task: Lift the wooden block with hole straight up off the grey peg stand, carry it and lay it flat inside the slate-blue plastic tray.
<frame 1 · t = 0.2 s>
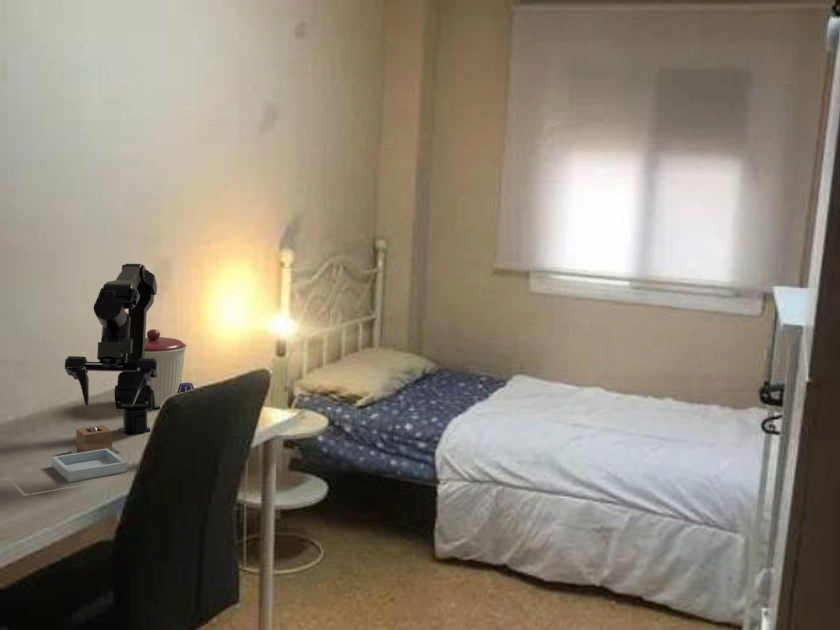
hand: (109, 405, 189), 14 cm above the table, tool tilted 30°, fingers open, 9 cm apart
toy lamp: (186, 455, 204), on the table
wooden block with hole: (94, 451, 203), resting on grey peg stand
grey peg stand: (94, 452, 203), on the table
tray: (89, 470, 190), on the table
canister: (154, 404, 249), on the table
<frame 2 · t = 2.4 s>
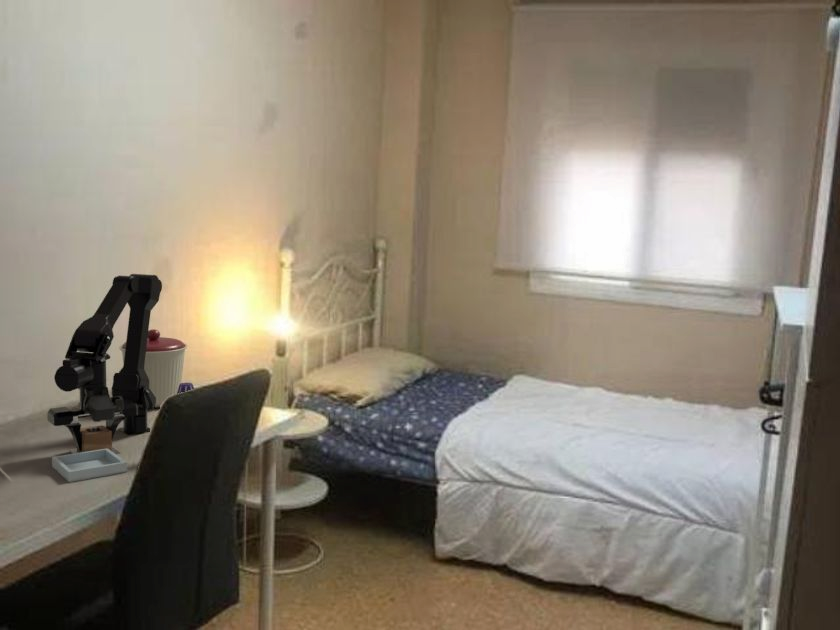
hand: (94, 448, 203), 1 cm above the table, tool pointing down, fingers closed on wooden block with hole, 6 cm apart
wooden block with hole: (94, 451, 203), resting on grey peg stand, touching gripper
everything else where it was.
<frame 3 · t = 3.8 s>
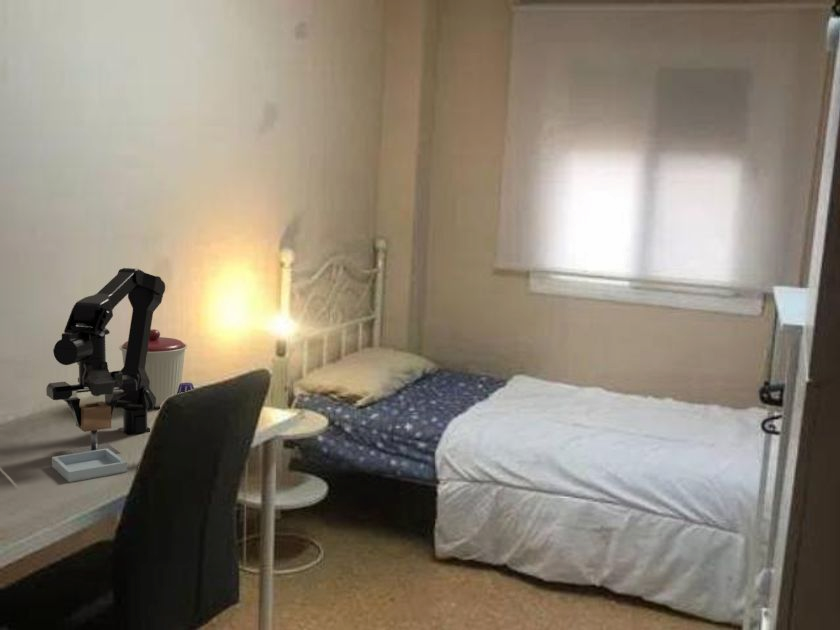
hand: (93, 424, 202), 7 cm above the table, tool pointing down, fingers closed on wooden block with hole, 6 cm apart
wooden block with hole: (93, 426, 202), point 6 cm above the table, touching gripper
everything else where it was.
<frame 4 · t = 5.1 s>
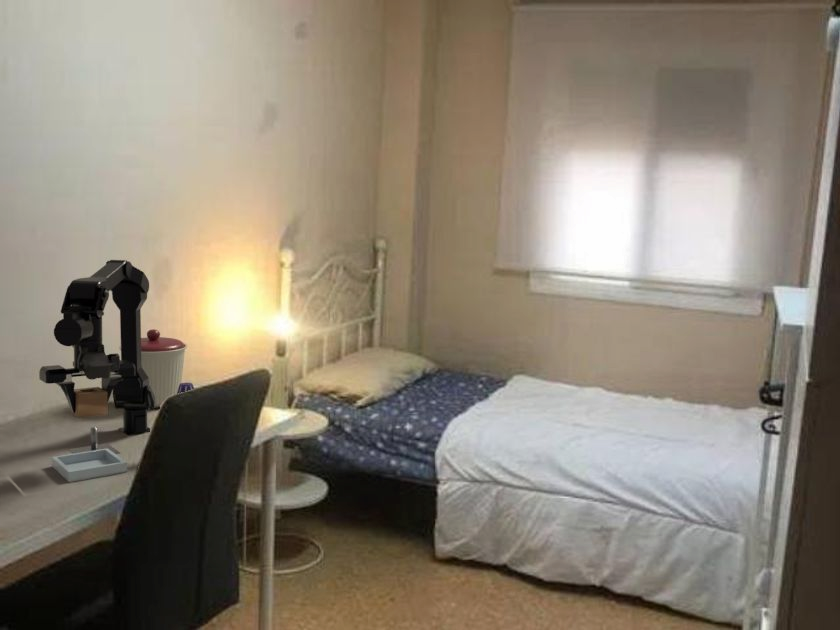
hand: (88, 410, 191), 13 cm above the table, tool pointing down, fingers closed on wooden block with hole, 6 cm apart
wooden block with hole: (89, 413, 191), point 12 cm above the table, touching gripper
everything else where it was.
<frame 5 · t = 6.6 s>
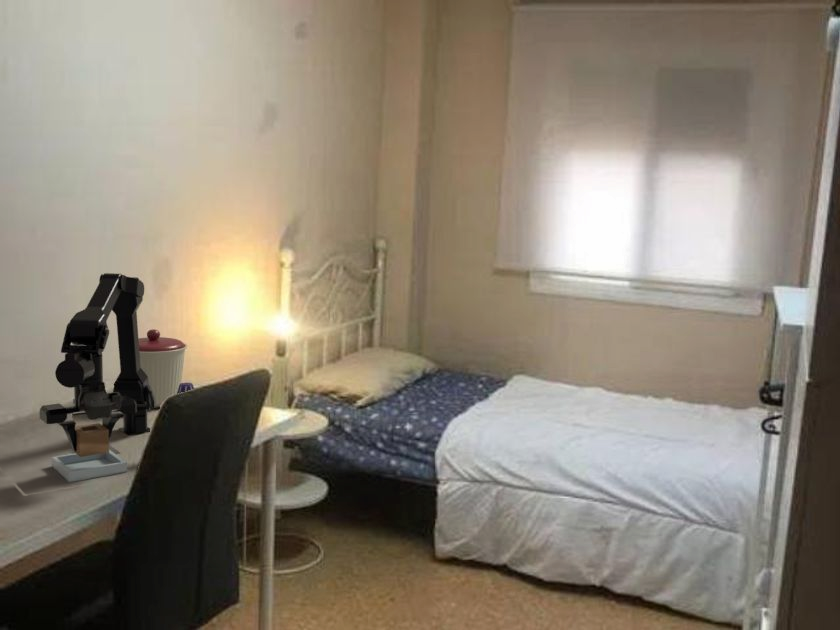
hand: (90, 448, 189), 5 cm above the table, tool pointing down, fingers closed on wooden block with hole, 6 cm apart
wooden block with hole: (90, 451, 189), point 5 cm above the table, touching gripper
everything else where it was.
when the fingers open (3 cm above the table, at t = 7.9 s): wooden block with hole drops 2 cm, resting on tray.
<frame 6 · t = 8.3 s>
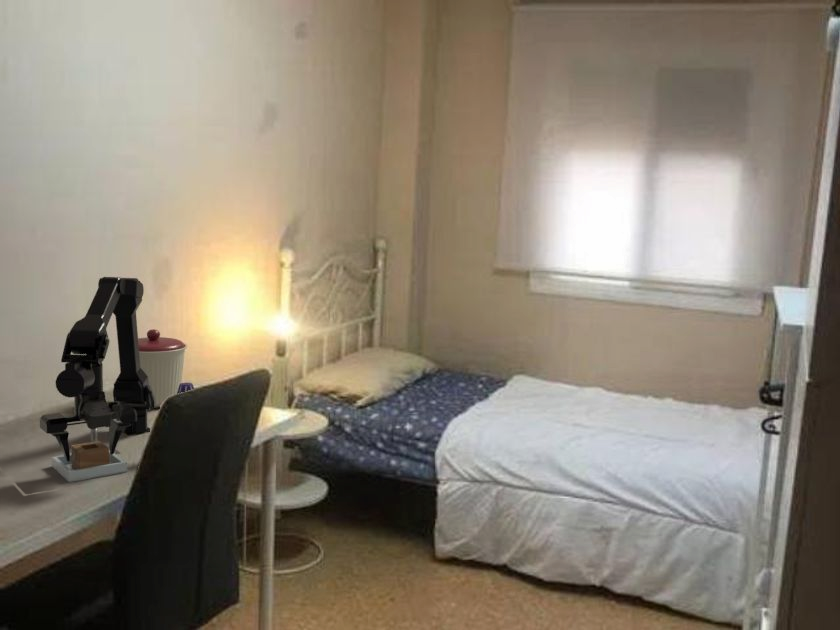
hand: (90, 457, 189), 3 cm above the table, tool pointing down, fingers open, 9 cm apart
wooden block with hole: (90, 469, 190), point 1 cm above the table, touching tray
everything else where it was.
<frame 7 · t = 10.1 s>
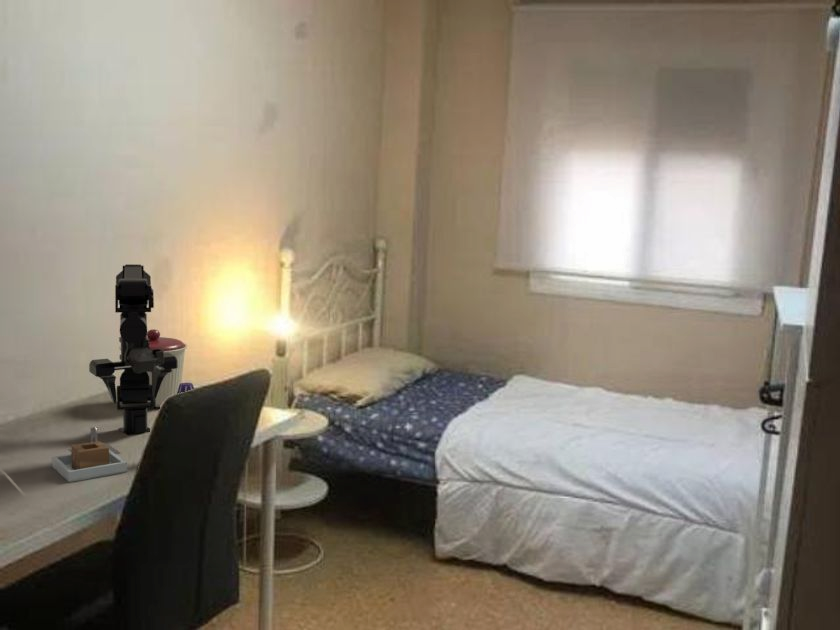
hand: (134, 400, 205), 12 cm above the table, tool pointing down, fingers open, 9 cm apart
nothing on the table moved.
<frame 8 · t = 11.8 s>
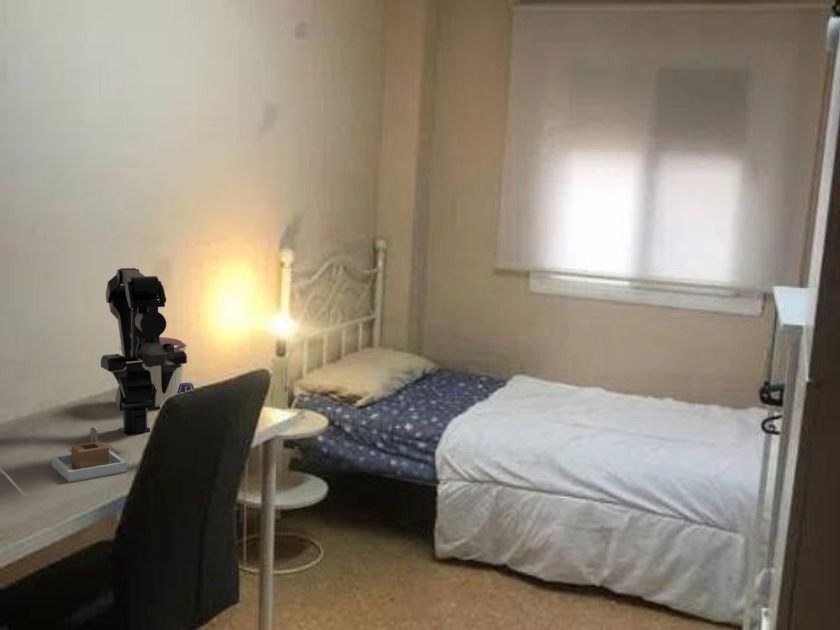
hand: (145, 395, 208), 12 cm above the table, tool pointing down, fingers open, 9 cm apart
nothing on the table moved.
at the end: wooden block with hole inside the target area on the tray (0.6 cm from its centre), point 0.6 cm above the tray's base; wooden block with hole tilted 0° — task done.
